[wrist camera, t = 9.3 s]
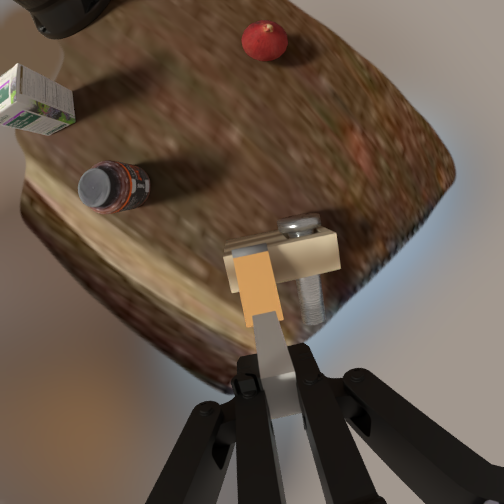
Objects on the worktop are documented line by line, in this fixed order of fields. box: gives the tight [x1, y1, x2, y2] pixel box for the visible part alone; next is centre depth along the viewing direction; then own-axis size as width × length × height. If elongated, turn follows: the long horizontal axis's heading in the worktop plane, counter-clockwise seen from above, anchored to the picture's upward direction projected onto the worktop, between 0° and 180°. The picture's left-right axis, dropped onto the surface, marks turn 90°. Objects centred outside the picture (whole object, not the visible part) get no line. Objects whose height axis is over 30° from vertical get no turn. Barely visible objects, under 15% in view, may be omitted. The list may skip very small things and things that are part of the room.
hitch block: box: [223, 226, 341, 293], centre depth 34 cm, size 4×12×9 cm, turn 101°
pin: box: [277, 213, 325, 325], centre depth 35 cm, size 13×5×5 cm, turn 12°
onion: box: [242, 20, 288, 61], centre depth 29 cm, size 6×6×8 cm
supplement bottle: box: [78, 161, 150, 214], centre depth 30 cm, size 6×6×11 cm
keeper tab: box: [231, 243, 284, 328], centre depth 28 cm, size 8×4×1 cm, turn 12°
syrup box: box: [0, 63, 76, 135], centre depth 25 cm, size 6×6×14 cm
